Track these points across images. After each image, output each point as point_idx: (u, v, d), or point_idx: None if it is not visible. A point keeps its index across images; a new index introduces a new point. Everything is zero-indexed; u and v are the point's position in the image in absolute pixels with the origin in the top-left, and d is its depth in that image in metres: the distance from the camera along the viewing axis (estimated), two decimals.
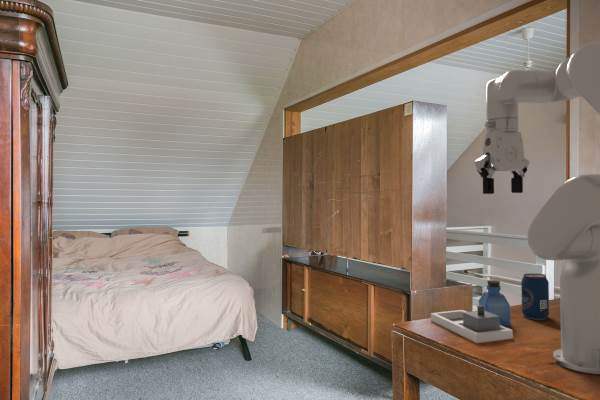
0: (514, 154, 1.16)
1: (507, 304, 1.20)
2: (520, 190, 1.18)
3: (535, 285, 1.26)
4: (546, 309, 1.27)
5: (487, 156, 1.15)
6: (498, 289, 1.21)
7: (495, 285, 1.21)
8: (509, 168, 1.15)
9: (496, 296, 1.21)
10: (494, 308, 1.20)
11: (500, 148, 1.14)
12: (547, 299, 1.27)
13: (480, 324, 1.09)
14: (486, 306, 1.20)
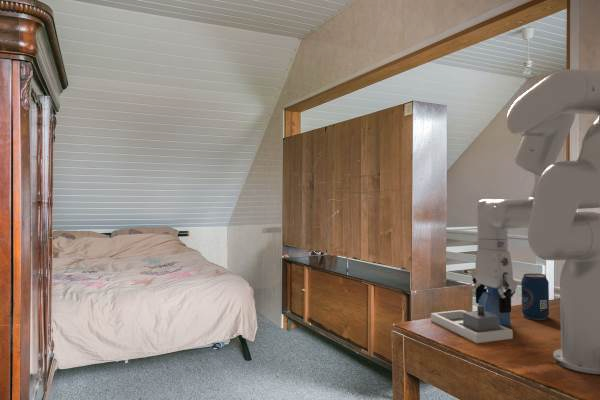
0: None
1: None
2: None
3: (535, 285, 1.26)
4: (546, 309, 1.27)
5: None
6: None
7: None
8: None
9: (496, 296, 1.21)
10: (494, 308, 1.20)
11: None
12: (547, 299, 1.27)
13: (480, 324, 1.09)
14: (486, 306, 1.20)
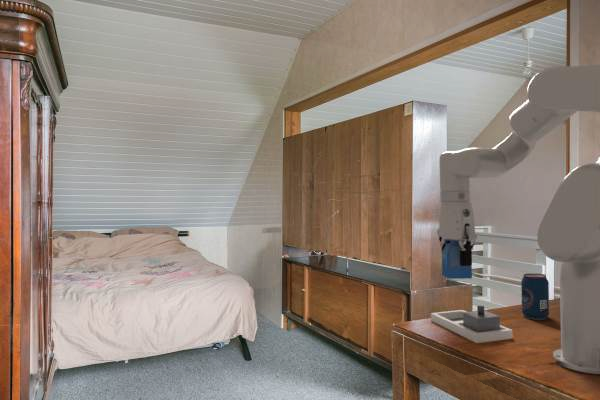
0: None
1: None
2: None
3: (535, 285, 1.26)
4: (546, 309, 1.27)
5: None
6: None
7: None
8: None
9: (458, 245, 1.20)
10: (455, 257, 1.19)
11: None
12: (547, 299, 1.27)
13: (480, 324, 1.09)
14: (447, 255, 1.19)
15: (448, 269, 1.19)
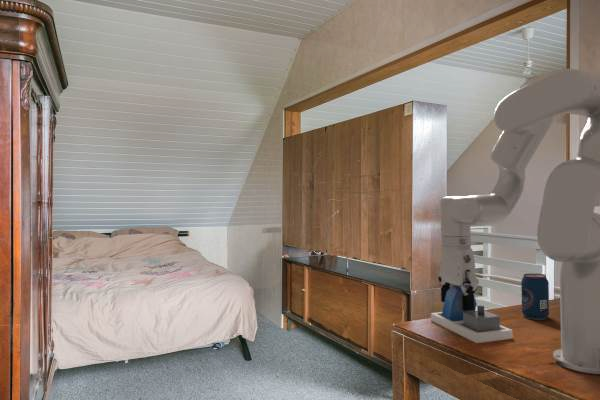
0: None
1: (474, 302, 1.18)
2: None
3: (535, 285, 1.26)
4: (546, 309, 1.27)
5: None
6: None
7: None
8: None
9: None
10: (460, 304, 1.19)
11: None
12: (547, 299, 1.27)
13: (480, 324, 1.09)
14: (453, 301, 1.19)
15: (451, 314, 1.19)
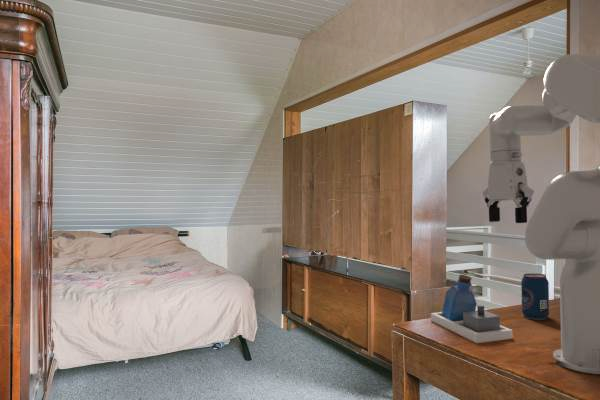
0: None
1: (474, 302, 1.18)
2: (499, 219, 1.27)
3: (535, 285, 1.26)
4: (546, 309, 1.27)
5: None
6: (468, 286, 1.19)
7: (466, 281, 1.19)
8: None
9: (465, 292, 1.19)
10: (460, 304, 1.19)
11: None
12: (547, 299, 1.27)
13: (480, 324, 1.09)
14: (453, 301, 1.19)
15: (451, 314, 1.19)
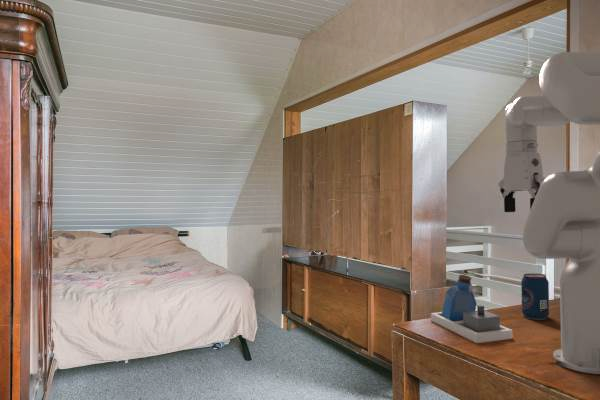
0: None
1: (474, 302, 1.18)
2: None
3: (535, 285, 1.26)
4: (546, 309, 1.27)
5: None
6: (468, 286, 1.19)
7: (466, 281, 1.19)
8: None
9: (465, 292, 1.19)
10: (460, 304, 1.18)
11: None
12: (547, 299, 1.27)
13: (480, 324, 1.09)
14: (453, 301, 1.18)
15: (451, 314, 1.19)
